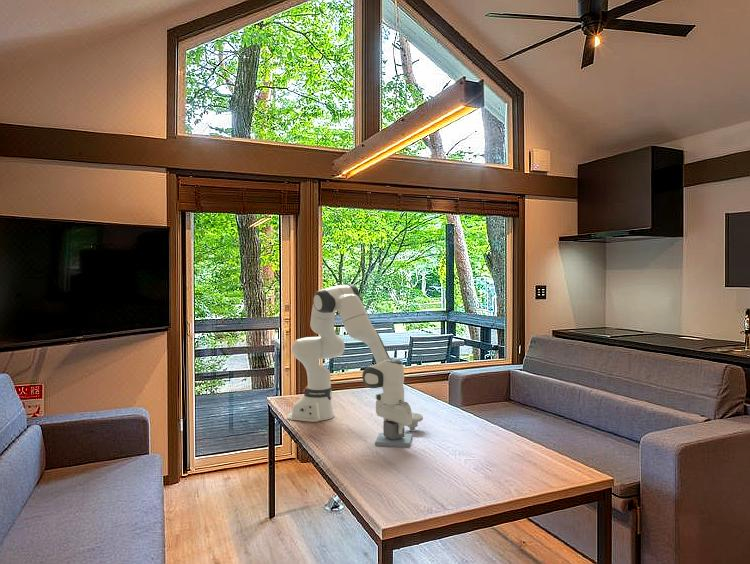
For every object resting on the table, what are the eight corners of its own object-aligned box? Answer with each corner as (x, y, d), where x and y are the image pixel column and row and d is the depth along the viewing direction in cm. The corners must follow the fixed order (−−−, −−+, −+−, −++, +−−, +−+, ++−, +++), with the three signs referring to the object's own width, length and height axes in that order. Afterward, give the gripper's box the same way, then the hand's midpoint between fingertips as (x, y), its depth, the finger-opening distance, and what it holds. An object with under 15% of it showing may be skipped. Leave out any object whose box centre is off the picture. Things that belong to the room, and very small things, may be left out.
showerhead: (401, 410, 237) (423, 411, 235) (401, 426, 237) (424, 427, 235) (398, 416, 228) (421, 417, 226) (398, 432, 228) (421, 434, 226)
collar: (392, 439, 212) (392, 425, 212) (383, 435, 217) (383, 421, 217) (404, 436, 216) (404, 422, 216) (395, 433, 221) (395, 418, 221)
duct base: (375, 445, 212) (374, 430, 211) (379, 436, 224) (379, 422, 223) (409, 447, 210) (409, 432, 209) (412, 437, 221) (411, 423, 221)
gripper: (415, 401, 210) (416, 436, 210) (384, 392, 226) (385, 424, 226) (403, 404, 206) (403, 439, 206) (373, 394, 222) (373, 426, 223)
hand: (393, 431), depth 216 cm, fingers closed on collar, 6 cm apart
